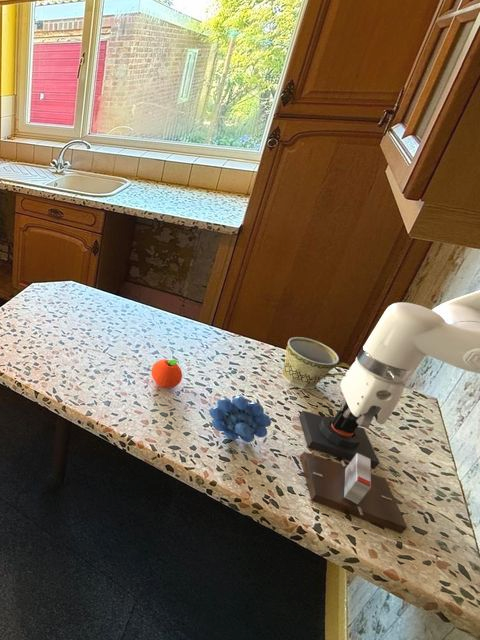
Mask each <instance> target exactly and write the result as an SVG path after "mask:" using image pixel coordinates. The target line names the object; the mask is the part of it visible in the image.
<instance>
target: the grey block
mask: <svg viewBox="0 0 480 640" xmlns="http://www.w3.org/2000/svg"><path fill="white" fill-rule="evenodd" d="M346 466H347V467H346V469H345V488H344V498H346V499H348V500H350V501H352V502H354V503H356V504H359V502H360V501H361V500H362V499H363V497H364V496H365V495H366V494H367V492H368V491H369V490H370V489H371V474H372V473H371V472H372V471H371V470H372V468H371V459H369V458H367V457H365V456H363V455H361V454H358V453H356V455H355V456H354V458H353V459H352V460H351V462H350V461H349V463H348V464H347V465H346Z"/></svg>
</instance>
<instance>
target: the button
mask: <svg viewBox="0 0 480 640" xmlns="http://www.w3.org/2000/svg"><path fill="white" fill-rule="evenodd" d="M330 427H331V428H332V429H333V430H334V431H335V432H336V433H338V434H340V435H341V436H344V437H348V438H351V437H352V436H353V433H348V432H344V431H341V430H338V429H335V428H334V427H333V424H331V425H330Z"/></svg>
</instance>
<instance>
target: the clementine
mask: <svg viewBox="0 0 480 640" xmlns="http://www.w3.org/2000/svg"><path fill="white" fill-rule="evenodd" d="M179 364H180V361H179V360H177V359H168V358H167V359H166V358H165V359H160V360H157V361H156V362H154V364H153V365H152V367H151V378H152V380H153V381H154V382H155V383H156V384H157V385H158V386H160V387H161V388H165V389H171V388H172V389H173V388H175V387H177V386H178V385H179V384H180V383H181V382H182V380H183V372H182V369H181V367H180V366H179Z"/></svg>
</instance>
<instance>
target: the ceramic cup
mask: <svg viewBox="0 0 480 640" xmlns="http://www.w3.org/2000/svg"><path fill="white" fill-rule="evenodd" d="M284 357H285V360H284V364H283V367H282V368H283V369H282V373H281V378H283V380H285V381H286V382H287V383H288V385H291V386H293V387H295V388H298V389H301V390H311V389H314V388H315V387H316V386H317V385H318V383H320V381H322V379H325V378H326V377H335V376H345V374H346V373H347V372H335V373H330V371H332V370H333V369H335V368H338V367H343V368H347V369H349V368H350V367H351V366H352V365H350V364H348V363H346V362H343V361H340V357H339V355H338V354H337V352H335V350H334V349H332V348H331V347H329V346H327V345H325V344H324V343H322V342H320V341H318V340H314V339H312V338H308V337H302V336H301V337H300V336H295V337H290V338H289V339H288V341H287V345H286V349H285V356H284Z"/></svg>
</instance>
